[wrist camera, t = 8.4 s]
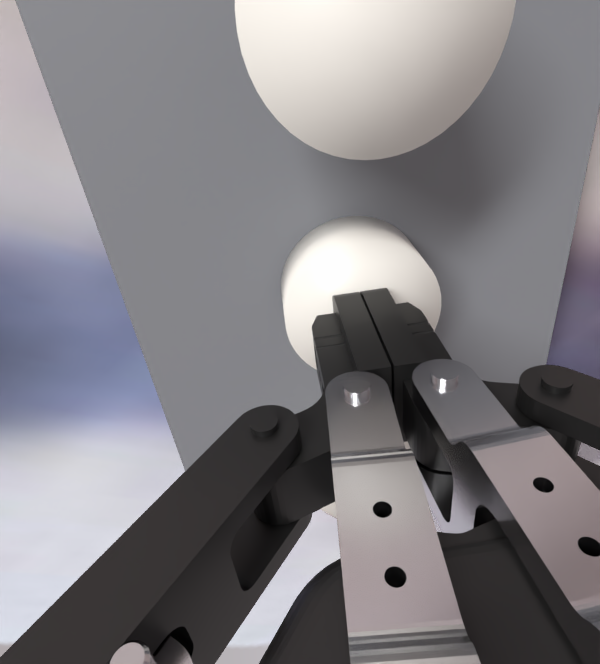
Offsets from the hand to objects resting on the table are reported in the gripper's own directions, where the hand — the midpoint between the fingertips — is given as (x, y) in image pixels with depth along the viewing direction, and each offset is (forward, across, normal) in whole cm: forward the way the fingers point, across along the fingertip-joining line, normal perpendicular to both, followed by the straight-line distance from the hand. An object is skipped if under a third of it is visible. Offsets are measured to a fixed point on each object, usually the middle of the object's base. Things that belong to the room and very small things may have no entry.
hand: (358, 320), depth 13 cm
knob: (+2, 0, -7) cm, 7 cm away
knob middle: (+5, 0, 0) cm, 5 cm away
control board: (+5, 0, 0) cm, 5 cm away
